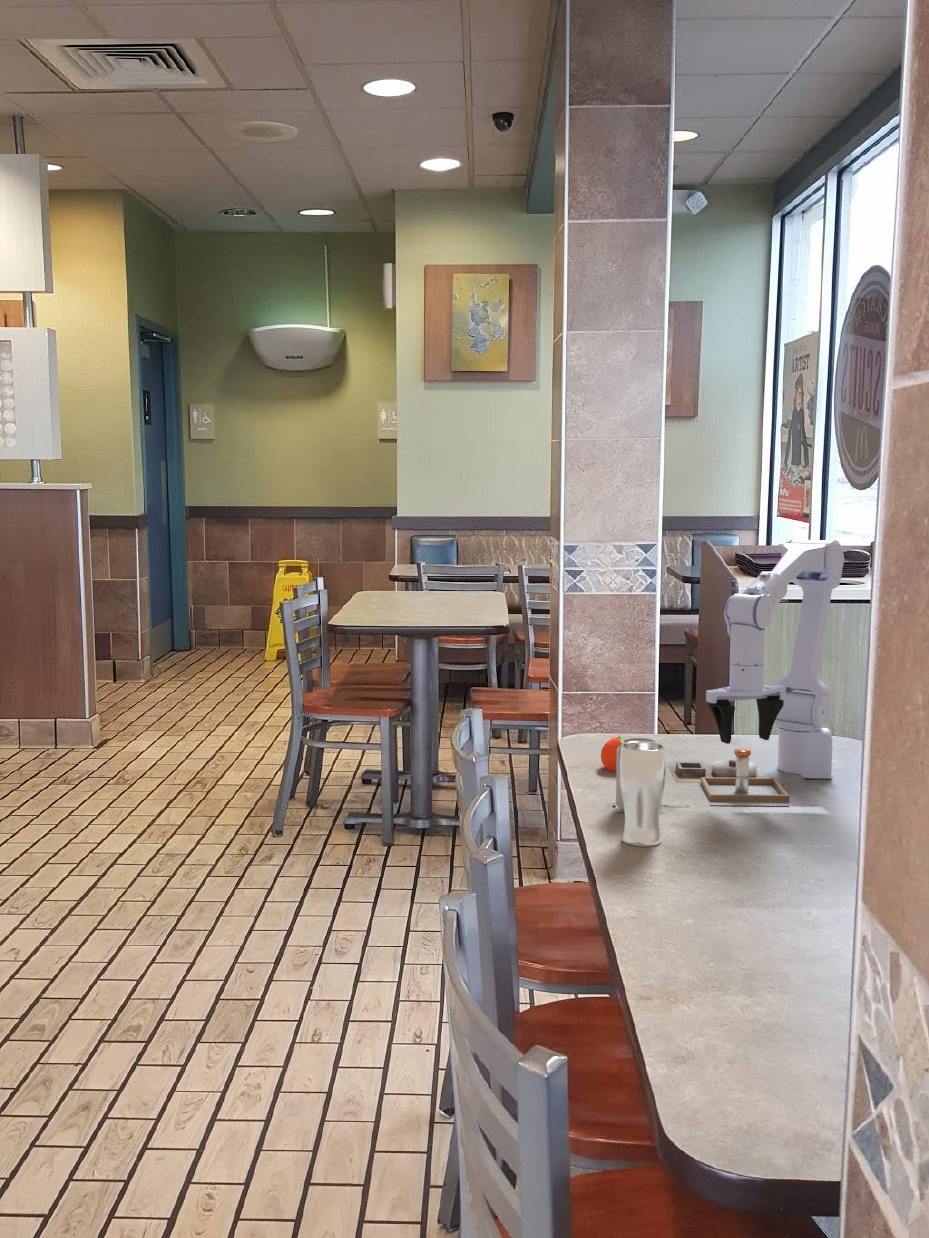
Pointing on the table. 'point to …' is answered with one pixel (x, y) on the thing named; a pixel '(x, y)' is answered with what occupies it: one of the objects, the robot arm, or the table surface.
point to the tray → (745, 797)
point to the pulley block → (708, 770)
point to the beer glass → (642, 791)
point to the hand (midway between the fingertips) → (744, 740)
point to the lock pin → (742, 770)
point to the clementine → (610, 753)
